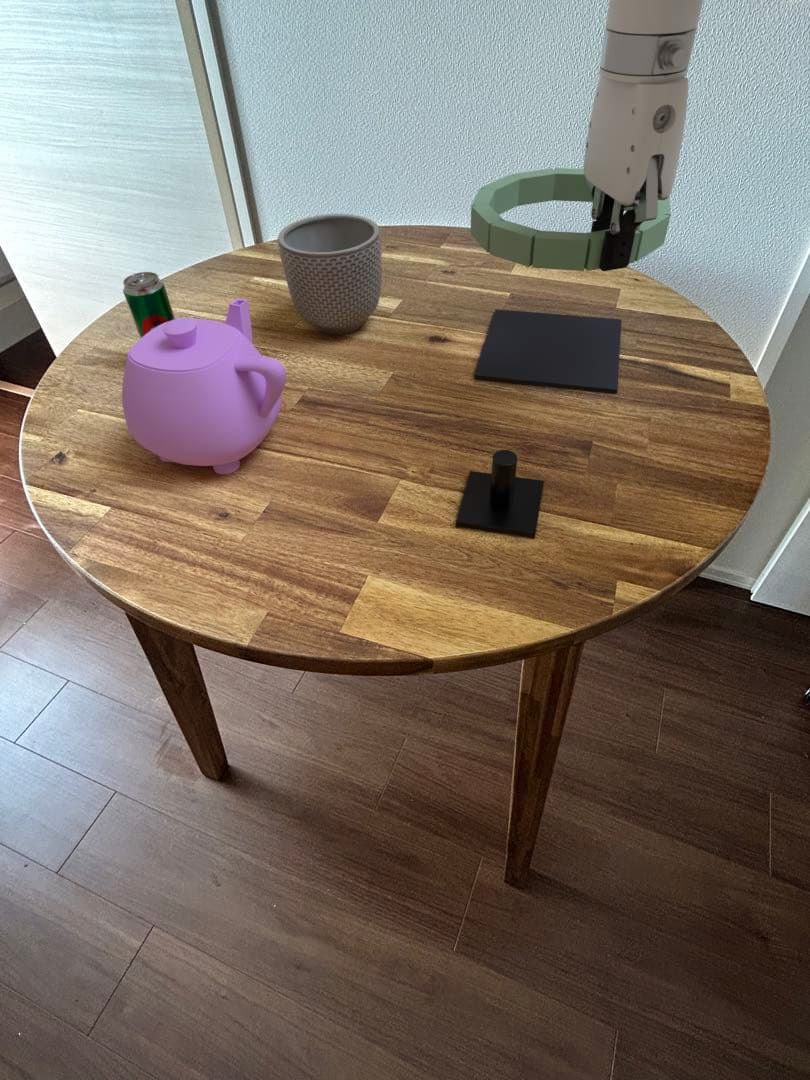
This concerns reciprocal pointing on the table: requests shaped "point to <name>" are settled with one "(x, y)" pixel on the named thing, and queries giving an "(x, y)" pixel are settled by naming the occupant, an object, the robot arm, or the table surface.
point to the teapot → (202, 391)
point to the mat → (552, 351)
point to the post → (501, 499)
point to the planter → (333, 269)
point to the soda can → (147, 301)
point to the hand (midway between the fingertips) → (607, 261)
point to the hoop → (550, 245)
